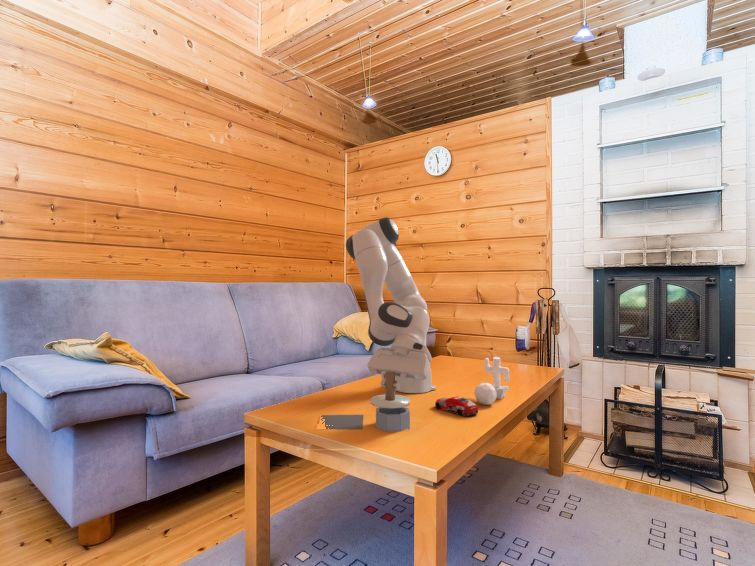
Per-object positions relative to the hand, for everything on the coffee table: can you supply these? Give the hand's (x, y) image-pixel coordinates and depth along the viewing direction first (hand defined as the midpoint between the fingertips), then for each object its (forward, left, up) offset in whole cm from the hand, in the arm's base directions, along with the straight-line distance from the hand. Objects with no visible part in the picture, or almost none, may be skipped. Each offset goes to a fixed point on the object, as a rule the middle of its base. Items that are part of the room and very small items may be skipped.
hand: (389, 386), depth 129 cm
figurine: (-34, +42, -12) cm, 56 cm away
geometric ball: (-24, +35, -12) cm, 45 cm away
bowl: (0, +1, -12) cm, 12 cm away
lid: (0, 0, -5) cm, 5 cm away
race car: (-17, +23, -13) cm, 31 cm away
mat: (-4, -15, -12) cm, 20 cm away
